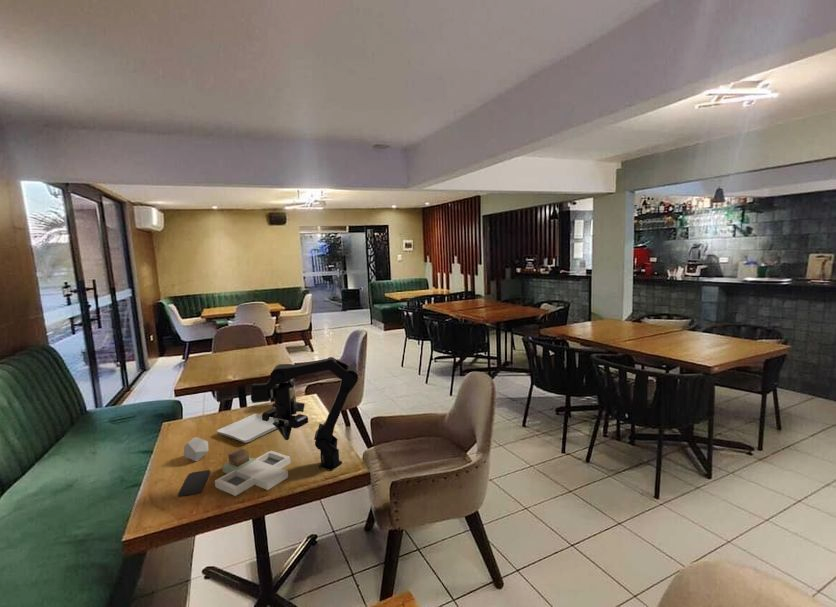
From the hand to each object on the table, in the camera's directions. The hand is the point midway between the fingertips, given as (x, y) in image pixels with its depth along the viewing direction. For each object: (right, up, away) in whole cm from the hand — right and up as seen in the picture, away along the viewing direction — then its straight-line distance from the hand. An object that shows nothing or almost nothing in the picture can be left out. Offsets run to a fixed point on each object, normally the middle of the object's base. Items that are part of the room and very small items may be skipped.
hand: (287, 439), depth 150 cm
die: (-40, -12, +12) cm, 44 cm away
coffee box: (-21, -4, +64) cm, 68 cm away
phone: (-31, -14, -6) cm, 35 cm away
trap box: (-11, -12, -1) cm, 17 cm away
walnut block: (-19, -10, +3) cm, 22 cm away
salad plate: (-28, -9, +35) cm, 46 cm away
